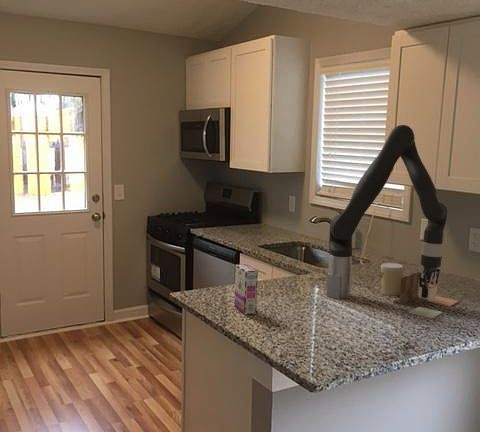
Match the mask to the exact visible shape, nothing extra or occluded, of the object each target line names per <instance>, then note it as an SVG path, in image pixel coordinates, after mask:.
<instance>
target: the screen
mask: <svg viewBox="0 0 480 432" xmlns="http://www.w3.org/2000/svg"><path fill="white" fill-rule="evenodd" d="M419 273H420V271H417V270H416V271H413V272H411V273H409V274H406V275H402V277H401V287H400V294H399V298H396V299H394V300H392V303H393V304H398V305H401V306H402V305H404V304H408V303H409V302H411V301H413V300H415V299H417V298H419V297H418V296H419Z"/></svg>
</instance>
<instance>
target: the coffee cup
mask: <svg viewBox="0 0 480 432" xmlns="http://www.w3.org/2000/svg"><path fill="white" fill-rule="evenodd" d="M403 276H404V266H403V265H402V264H399V263H394V262H384V263H382V264H381V265H380V293H381V294H383V295H385V296H400V287H401V277H403Z"/></svg>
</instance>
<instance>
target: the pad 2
mask: <svg viewBox="0 0 480 432" xmlns="http://www.w3.org/2000/svg"><path fill="white" fill-rule="evenodd" d="M427 302H428V303H433V304H436V305H441V306H445V307H449V308H451V307H452V306H454V305H456V304H459V302H460V301H459V300H455V299H453V298H448V297H442V296H438V295H436V298H435V299H432V300H428V299H427Z"/></svg>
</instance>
